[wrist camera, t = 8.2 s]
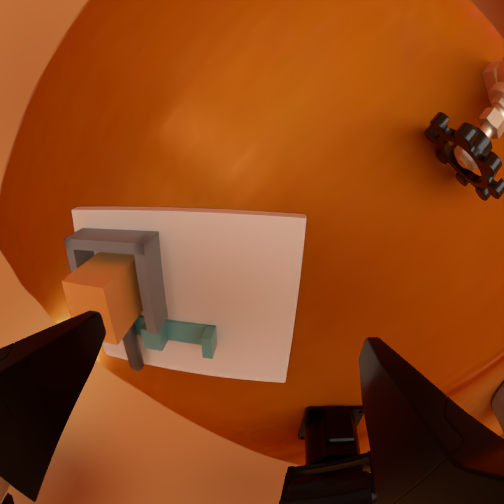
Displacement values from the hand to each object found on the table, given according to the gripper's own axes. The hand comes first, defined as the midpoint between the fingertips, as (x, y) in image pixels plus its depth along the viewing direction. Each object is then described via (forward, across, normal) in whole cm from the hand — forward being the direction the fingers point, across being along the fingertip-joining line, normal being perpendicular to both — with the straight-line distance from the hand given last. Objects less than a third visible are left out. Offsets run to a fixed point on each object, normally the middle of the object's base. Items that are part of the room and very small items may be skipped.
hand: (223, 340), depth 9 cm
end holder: (+11, +10, +4) cm, 16 cm away
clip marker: (+11, +5, +9) cm, 15 cm away
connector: (+11, +10, +8) cm, 17 cm away
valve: (+12, -16, -11) cm, 23 cm away
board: (+12, +6, +6) cm, 15 cm away
